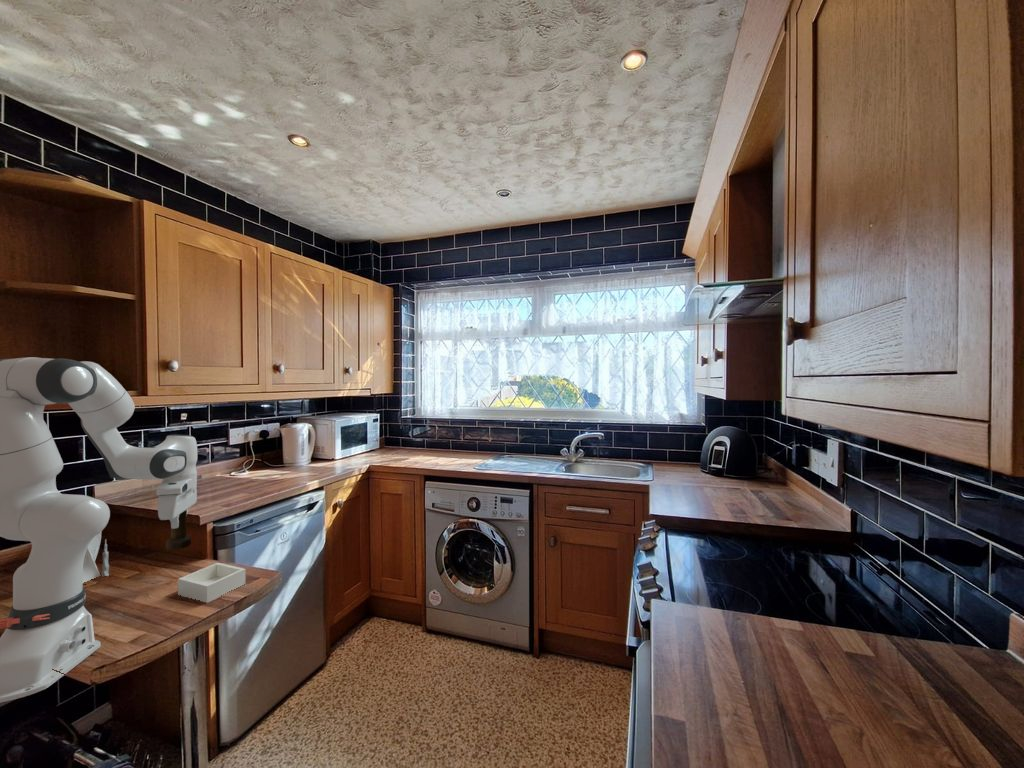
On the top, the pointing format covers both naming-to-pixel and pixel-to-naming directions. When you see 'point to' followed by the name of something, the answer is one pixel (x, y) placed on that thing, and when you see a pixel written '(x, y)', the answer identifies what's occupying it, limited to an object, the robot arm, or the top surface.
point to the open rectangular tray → (211, 582)
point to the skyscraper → (89, 560)
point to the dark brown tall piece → (179, 535)
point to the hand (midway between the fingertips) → (178, 525)
